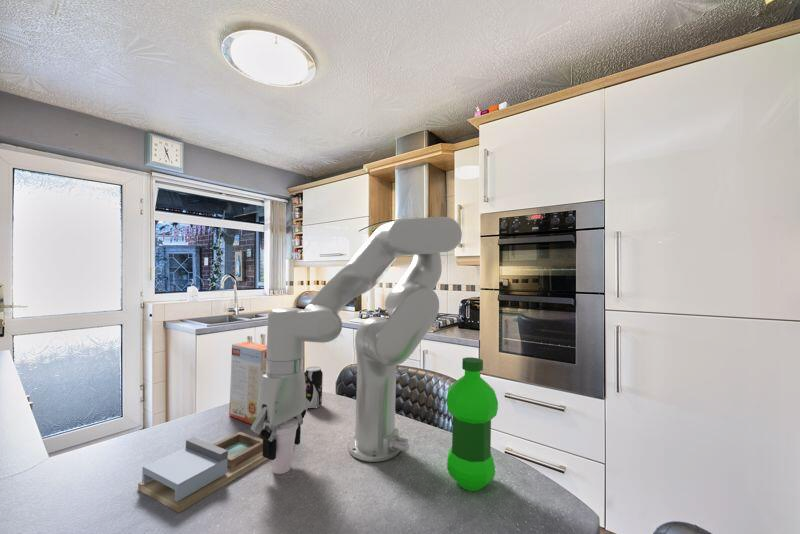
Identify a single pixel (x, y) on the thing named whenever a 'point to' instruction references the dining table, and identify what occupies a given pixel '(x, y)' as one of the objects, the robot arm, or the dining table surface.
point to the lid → (188, 467)
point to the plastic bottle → (471, 427)
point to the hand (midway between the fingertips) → (282, 449)
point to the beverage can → (314, 386)
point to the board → (241, 459)
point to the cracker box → (246, 379)
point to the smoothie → (284, 445)
